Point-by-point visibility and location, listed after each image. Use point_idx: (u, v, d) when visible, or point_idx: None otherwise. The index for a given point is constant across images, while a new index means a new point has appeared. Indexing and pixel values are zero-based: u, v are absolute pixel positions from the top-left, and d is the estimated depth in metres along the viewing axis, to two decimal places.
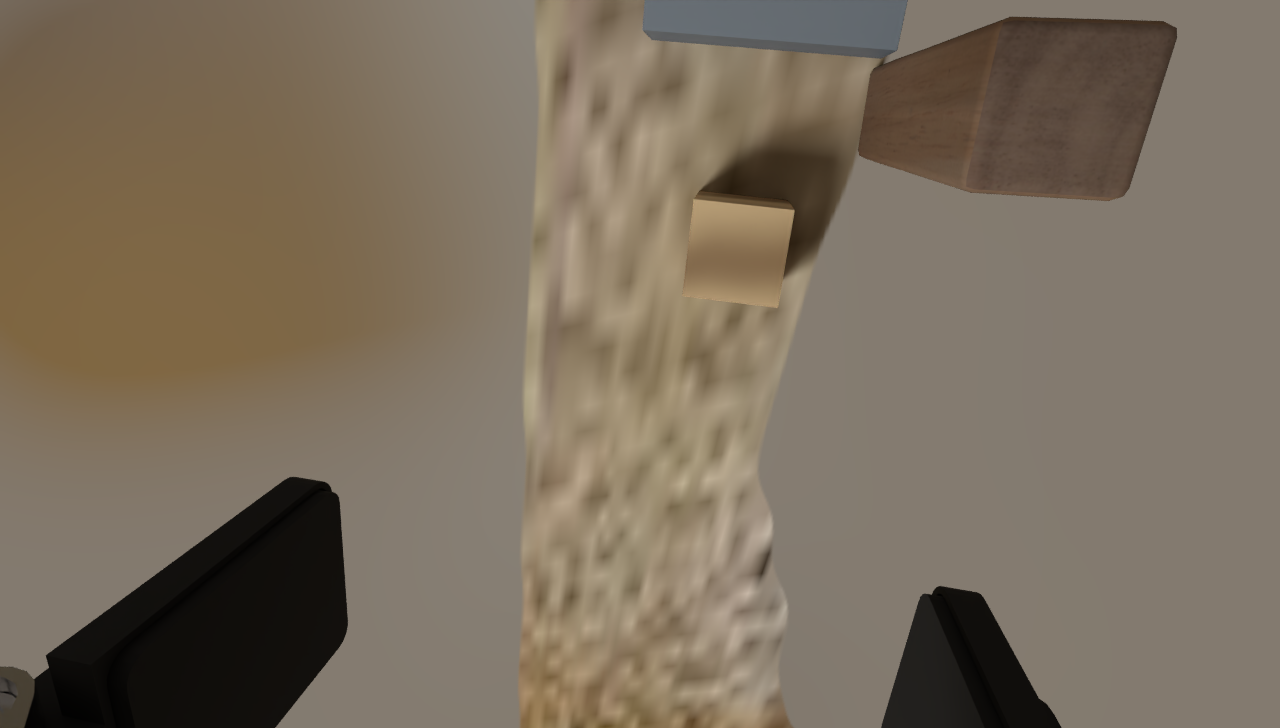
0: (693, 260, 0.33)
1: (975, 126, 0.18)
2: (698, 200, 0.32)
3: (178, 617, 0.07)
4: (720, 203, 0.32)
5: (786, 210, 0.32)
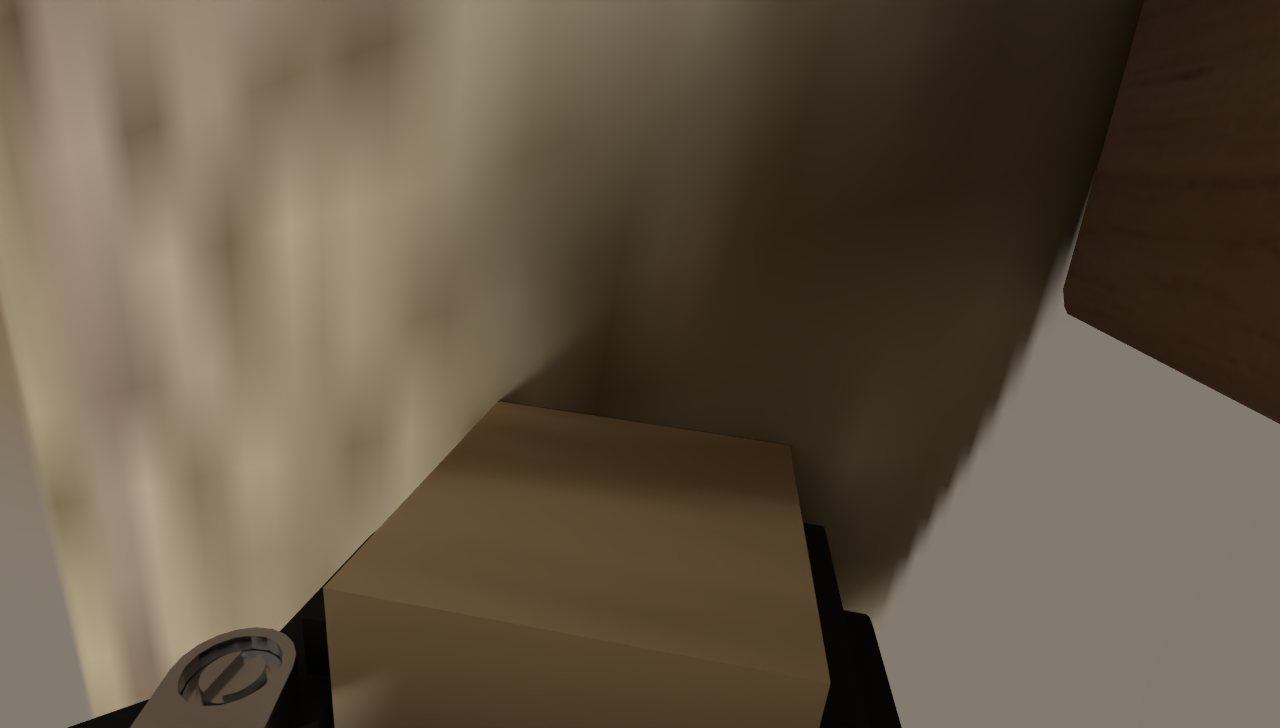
0: None
1: None
2: (348, 592, 0.06)
3: None
4: (451, 617, 0.06)
5: (786, 680, 0.06)
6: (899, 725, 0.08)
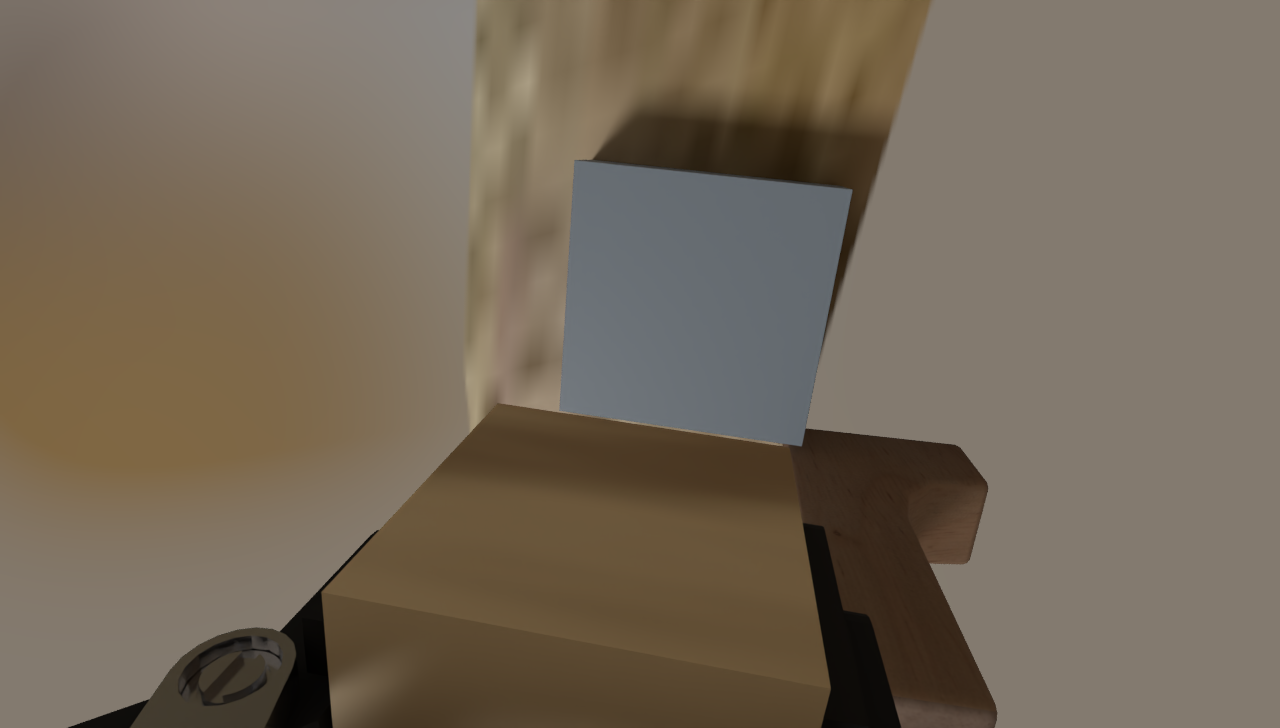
0: None
1: None
2: (346, 597, 0.06)
3: None
4: (450, 622, 0.06)
5: (786, 686, 0.06)
6: (899, 725, 0.08)
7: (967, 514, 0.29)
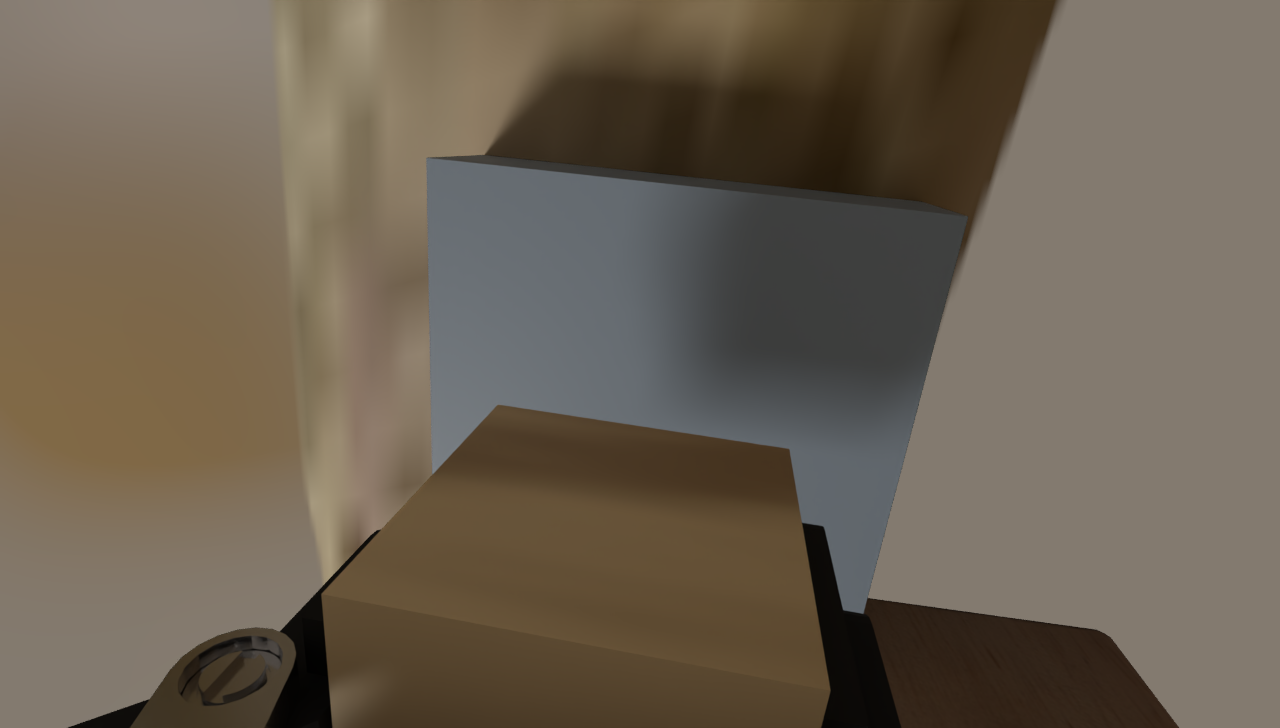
0: None
1: None
2: (346, 599, 0.06)
3: None
4: (449, 624, 0.06)
5: (786, 687, 0.06)
6: (899, 725, 0.08)
7: None
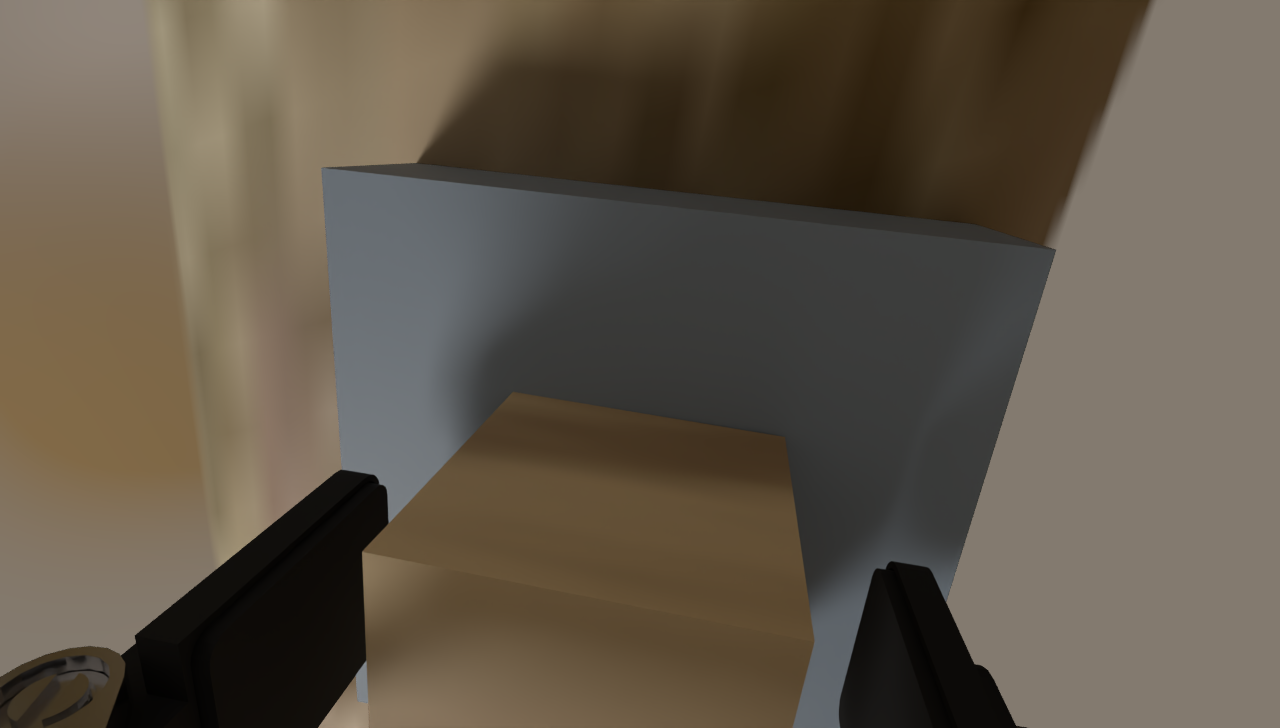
0: None
1: None
2: (383, 556, 0.07)
3: (251, 601, 0.08)
4: (476, 580, 0.07)
5: (775, 639, 0.07)
6: None
7: None
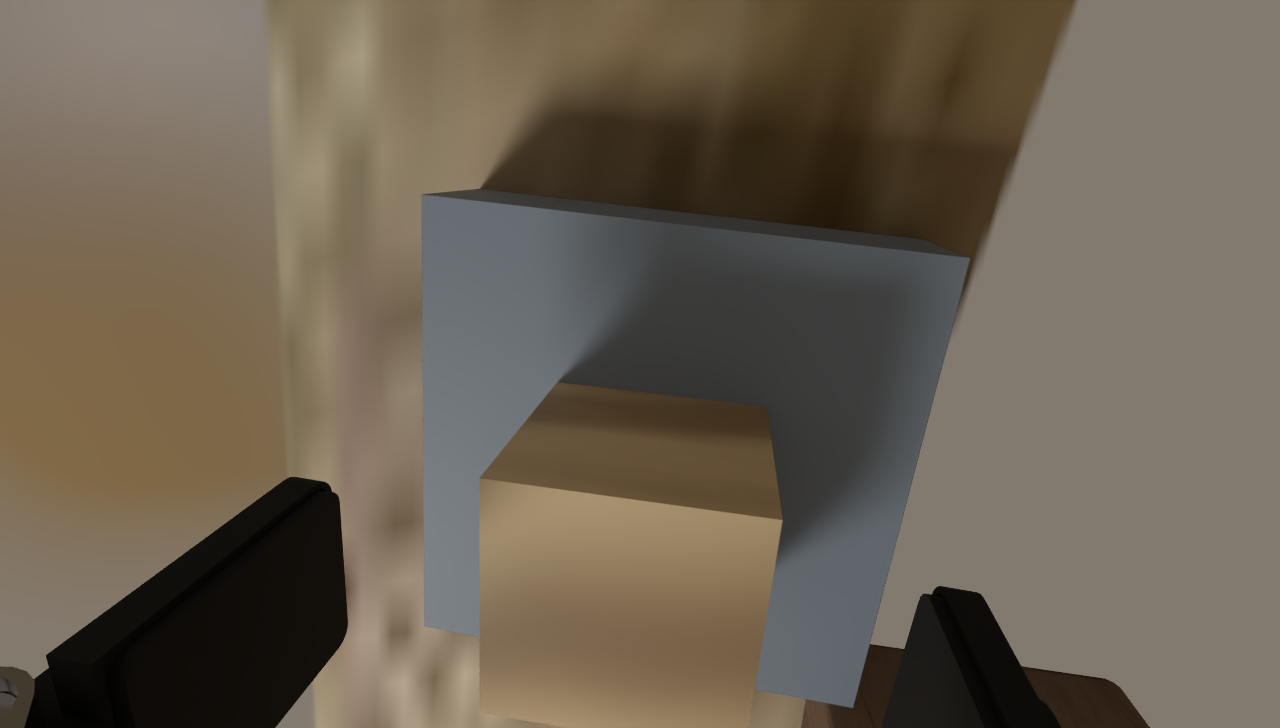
0: (499, 631, 0.12)
1: None
2: (493, 481, 0.11)
3: (178, 617, 0.07)
4: (557, 492, 0.11)
5: (757, 520, 0.10)
6: None
7: None
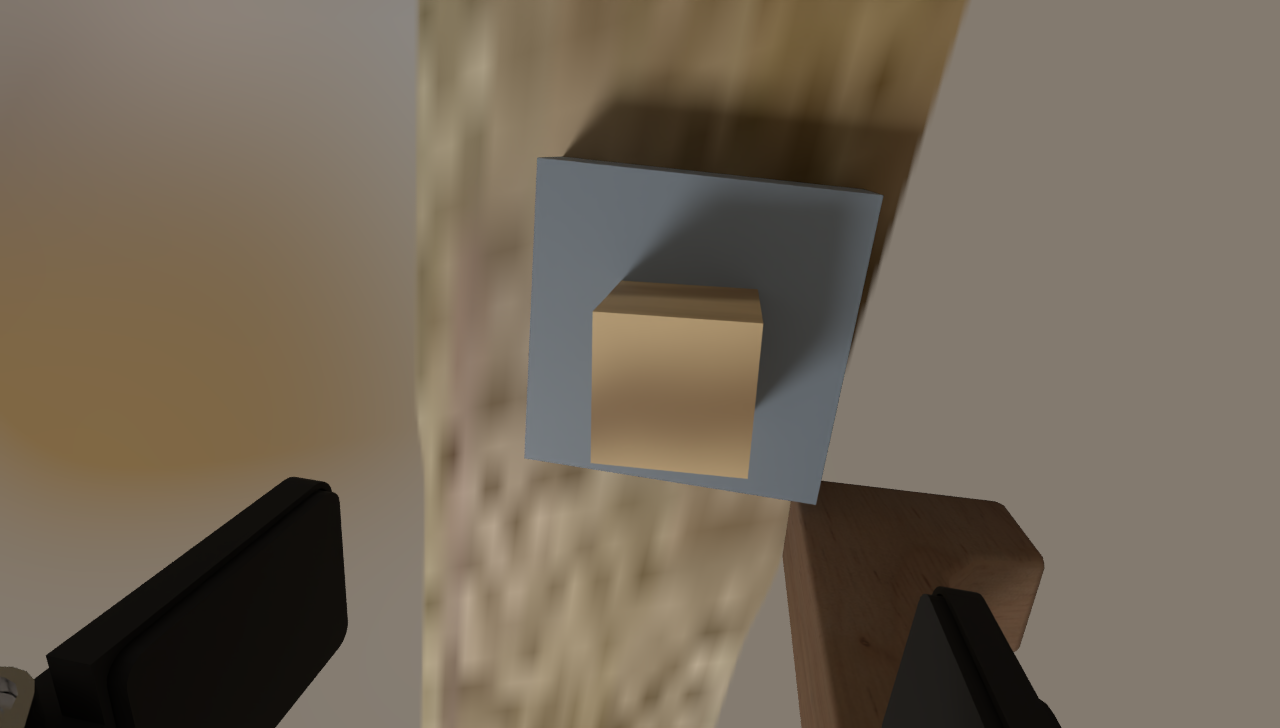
0: (602, 407, 0.20)
1: None
2: (600, 313, 0.19)
3: (178, 617, 0.07)
4: (637, 316, 0.19)
5: (749, 324, 0.18)
6: None
7: (1018, 596, 0.24)
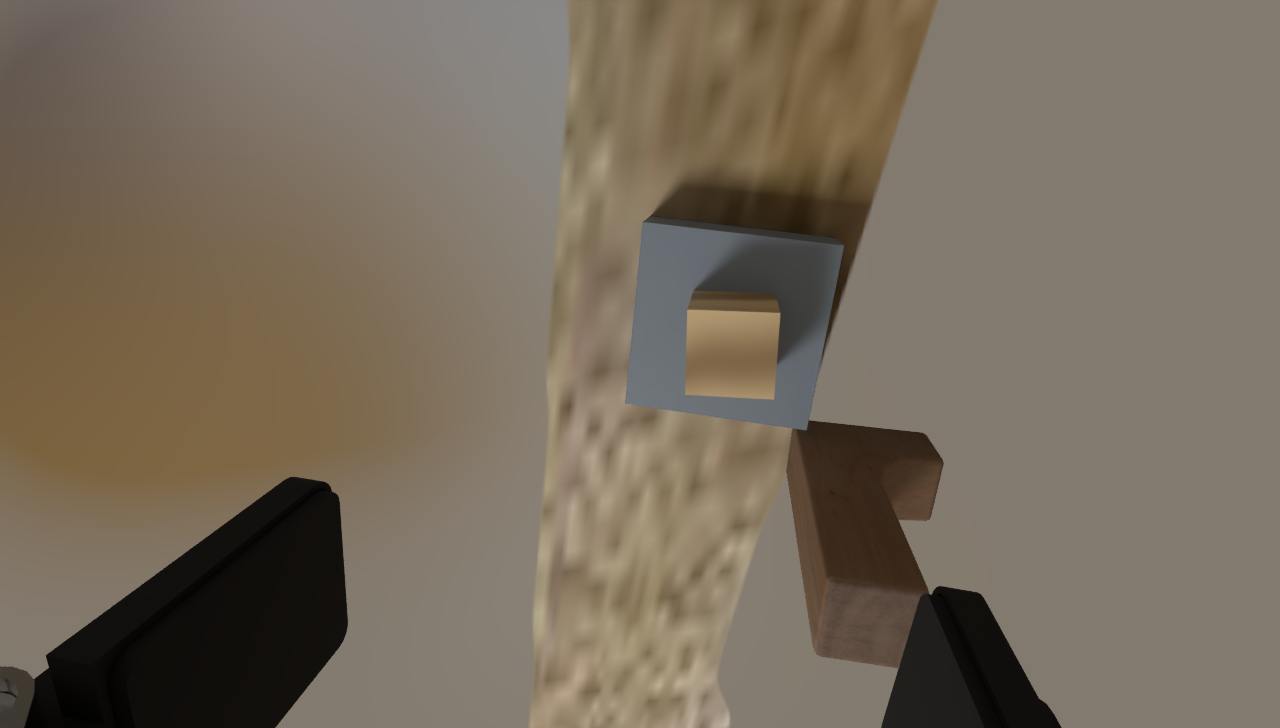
0: (692, 362, 0.36)
1: (819, 624, 0.29)
2: (691, 310, 0.35)
3: (178, 617, 0.07)
4: (711, 311, 0.35)
5: (772, 313, 0.34)
6: None
7: (928, 483, 0.40)
